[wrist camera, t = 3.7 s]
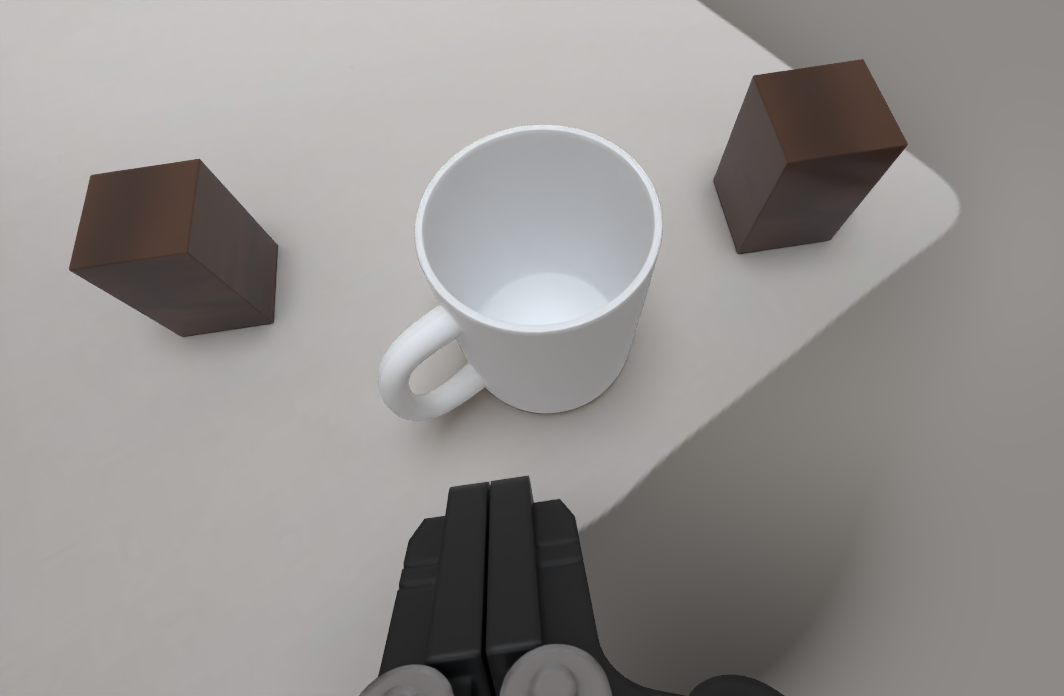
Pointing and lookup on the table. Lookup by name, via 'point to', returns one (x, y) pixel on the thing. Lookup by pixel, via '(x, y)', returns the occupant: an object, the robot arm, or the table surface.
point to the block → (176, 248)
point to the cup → (529, 271)
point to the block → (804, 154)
